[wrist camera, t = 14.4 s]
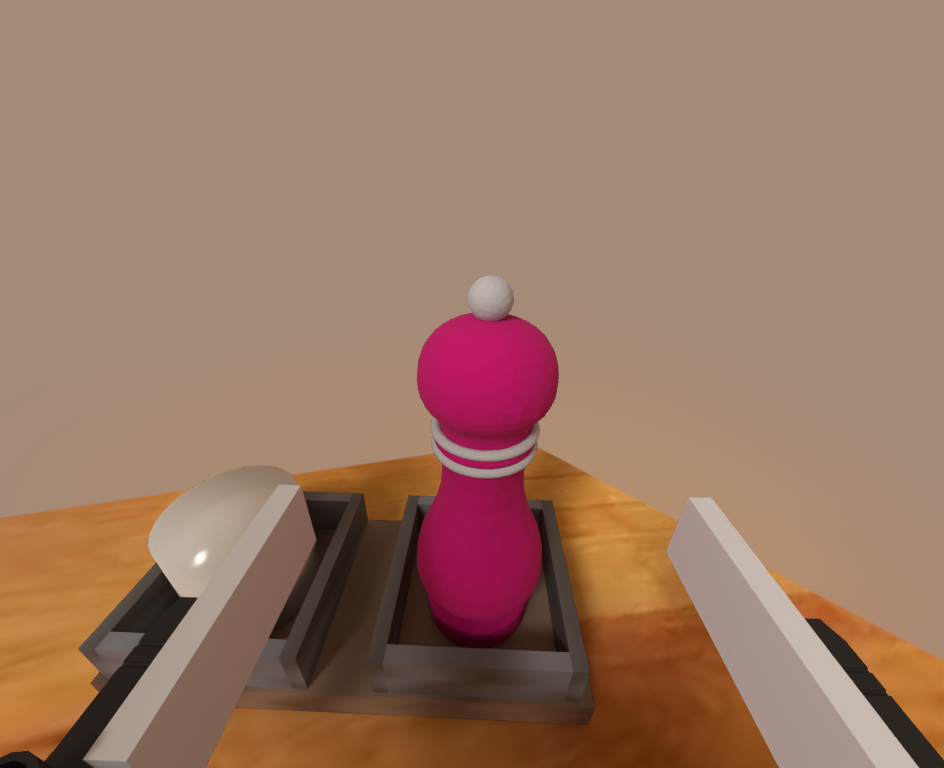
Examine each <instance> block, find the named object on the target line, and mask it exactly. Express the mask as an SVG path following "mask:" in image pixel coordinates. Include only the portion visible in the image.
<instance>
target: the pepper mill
mask: <svg viewBox="0 0 944 768" xmlns="http://www.w3.org/2000/svg"><path fill="white" fill-rule="evenodd" d="M513 302H514V297H513V291H512V288H511V287H510V285H509V284H508V282H506V281H505V280H504V279H502V278H500V277H498V276H493V275H491V276H485V277H482V278H480V279H478V280H477V281H476V282H475V283H474V284H473V285H472V287H471V289H470V291H469V295H468V304H469V308H470V310H471V311H472V313H469V314H464V315H460V316H458V317H455V318H453V319H450V320H449V321H447V322H446V323H444V324H442V325H441V326H440V327H438V328H437V329H436V330H435V331H434V332H433V333H432V334H431V335H430V336H429V338H428V339H427V341H426V342H425V344H424V346H423V348H422V351H421V354H420V357H419V361H418V372H417V383H418V391H419V394H420V397H421V399H422V401H423V403H424V405H425V407H426V409H427V410H428V411H429V412H430V414H431V415H432V416H433V418H432V421H431V431H432V442H431V443H432V448H433V451H434V454H435V456H436V457H437V458H438V460H439V461H440V462H441V463H442V477H441V484H440V487H439V491H438V493H437V495H436V497H435V499H434V501H433V503H432V505H431V506H430V508H429V510H428V512H427V513H426V515H425V518H424V520H423V523H422V527H421V530H420V534H419V537H418V548H417V566H418V572H419V575H420V579H421V581H422V583H423V585H424V587H425V589H426V591H427V593H428V603H429V609H430V613H431V616H432V618H433V620H434V622H435V624H436V625H437V627H438V628H439V629H440V631H441V632H442V633H443V634H444V635H445V636H446V637H448V638H449V639H450V640H451V641H453V642H455V643H457V644H459V645H461V646H464V647H468V648H488V647H492V646H495V645H498V644H500V643H501V642H503V641H505V640H506V639H508V638H509V637H510V636H511V635H512V634H513V633H514V632H515V631H516V630H517V628H518V627H519V625H520V623H521V621H522V619H523V616H524V613H525V609H526V602H527V599H528V598H529V597H530V595H531V594H532V593H533V591H534V589H535V587H536V585H537V582H538V580H539V577H540V572H541V561H542V544H541V539H540V534H539V529H538V526H537V523H536V521H535V518H534V516H533V514H532V512H531V510H530V508H529V505H528V502H527V500H526V496H525V491H524V469H525V467H526V466H528V465H529V464H530V463H531V461H532V460H533V459H534V457H535V455H536V452H537V439H538V437H539V432H540V429H539V424H538V421H539V420H540V419H542V418H543V417H544V416H545V414H546V413H547V412H548V410H549V409H550V407H551V406H552V404H553V402H554V400H555V397H556V392H557V387H558V379H559V377H558V376H559V375H558V374H559V373H558V362H557V358H556V354H555V351H554V349H553V347H552V346H551V344H550V342H549V341H548V339H547V338H546V336H545V335H544V334H543V333H542V332H541V331H540V330H539V329H538V328H537V327H535V326H534V325H532V324H531V323H529V322H528V321H525V320H523V319H521V318H518V317H516V316H512V315H509V312H510V311H511V309H512V306H513Z"/></svg>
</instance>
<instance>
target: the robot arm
mask: <svg viewBox="0 0 944 768" xmlns="http://www.w3.org/2000/svg"><path fill="white" fill-rule="evenodd" d="M315 542H316V537H315V533H314V530H313V526H312V523H311V519H310V516H309V512H308V508H307V505H306V501H305V498H304V494H303V491H302V487H301V485H278V486H277V488H276V489H275V491H274V492H273V493H272V495H271V496H270V498H269V499H268V500H267V502H266V503H265V505H264V506H263V507H262V509H261V510H260V512H259V513H258V514H257V516H256V517H255V519H254V520H253V521H252V523H251V524H250V526H249V527H248V528H247V530H246V531H245V533H244V534H243V535H242V537H241V538H240V540H239V541H238V542H237V544H236V545H235V547H234V548H233V549H232V551H231V552H230V554H229V555H228V556H227V558H226V559H225V561H224V562H223V563H222V565H221V566H220V568H219V569H218V570H217V572H216V573H215V575H214V576H213V577H212V579H211V580H210V582H209V583H208V585H207V586H206V587H205V589H204V590H203V592H202V593H201V594H200V596H199V597H181V598H179V599H178V600H177V601H176V602H175V603H174V604H172V605H171V606H170V607H169V608H168V609H167V610H165V611H164V612H163V613H162V614H161V615H160V616H158V617H157V619H156V620H155V621H154V623H153V624H152V625H151V626H150V628H149V629H148V630H147V632H146V633H145V634H144V635H143V637H142V638H141V639H140V641H139V644H138V645H137V646H135V647H134V648H133V650H132V651H131V652H130V653H129V655H128V656H127V657H126V659H125V660H124V661H123V665H122V666H121V667H119V668H118V669H117V670H116V671H115V673H114V674H113V675H112V677H111V678H110V679H109V680H108V682H107V683H106V684H105V686H104V687H103V688H102V689H101V691H100V692H99V693H98V695H97V696H96V697H95V698H94V700H93V701H92V702H91V704H90V705H89V706H88V708H87V709H86V710H85V711H84V713H83V714H82V715H81V717H80V718H79V719H78V720H77V722H76V723H75V724H74V726H73V727H72V728H71V729H70V731H69V732H68V733H67V735H66V736H65V737H64V738H63V740H62V741H61V742H60V744H59V745H58V746H57V747H56V749H55V750H54V751H53V752H52V753H51V754H50V756H49V757H48V758H47V759H46V760H45V761H42V760H41V759H39V758H38V757H37V756H35V755H34V754H32V753H31V752H29V751H22V752H12V753H10V754H8V755H5V756H3V757H1V758H0V768H206V766H207V764H208V762H209V759H210V757H211V755H212V753H213V751H214V749H215V747H216V745H217V743H218V741H219V739H220V737H221V735H222V733H223V731H224V729H225V727H226V725H227V723H228V720H229V718H230V716H231V714H232V712H233V710H234V708H235V706H236V704H237V702H238V700H239V698H240V696H241V694H242V692H243V690H244V688H245V686H246V683H247V681H248V679H249V677H250V675H251V673H252V671H253V669H254V667H255V665H256V663H257V661H258V659H259V657H260V655H261V653H262V651H263V649H264V647H265V644H266V642H267V640H268V638H269V636H270V634H271V632H272V630H273V628H274V626H275V624H276V622H277V620H278V618H279V616H280V614H281V612H282V610H283V607H284V605H285V603H286V601H287V599H288V597H289V595H290V593H291V591H292V589H293V587H294V585H295V583H296V581H297V579H298V577H299V575H300V573H301V571H302V568H303V566H304V564H305V562H306V560H307V558H308V556H309V554H310V552H311V550H312V548H313V546H314V544H315ZM666 553H667V554H668V556H669V558H670V560H671V562H672V564H673V566H674V568H675V570H676V572H677V574H678V576H679V577H680V579H681V581H682V583H683V585H684V587H685V589H686V591H687V593H688V595H689V597H690V598H691V600H692V602H693V604H694V606H695V608H696V610H697V612H698V614H699V616H700V618H701V620H702V621H703V623H704V625H705V627H706V629H707V631H708V633H709V635H710V637H711V639H712V641H713V642H714V644H715V646H716V648H717V650H718V652H719V654H720V656H721V658H722V660H723V662H724V664H725V665H726V667H727V669H728V671H729V673H730V675H731V677H732V679H733V681H734V683H735V685H736V686H737V688H738V690H739V692H740V694H741V696H742V698H743V700H744V702H745V704H746V706H747V708H748V709H749V711H750V713H751V715H752V717H753V719H754V721H755V723H756V725H757V727H758V729H759V730H760V732H761V734H762V736H763V738H764V740H765V742H766V744H767V746H768V748H769V750H770V752H771V753H772V755H773V757H774V759H775V761H776V763H777V765H778V767H779V768H944V760H943V759H942V758H941V756H940V755H939V754H938V753H937V751H936V750H935V749H934V748H933V747H932V745H931V744H930V743H929V742H928V741H927V739H926V738H925V737H924V736H923V734H922V733H921V732H920V731H919V730H918V728H917V727H916V726H915V725H914V724H913V722H912V721H911V720H910V719H909V717H908V716H907V715H906V714H905V713H904V711H903V710H902V709H901V708H900V707H899V705H898V704H897V703H896V702H895V700H894V699H893V698H892V697H891V696H888V695H887V693H886V690H885V688H884V687H883V686H882V685H881V683H880V682H879V681H878V680H877V679H876V677H875V676H874V675H873V674H872V673H870V672H869V671H868V668H867V666H866V665H865V664H864V663H863V662H862V660H861V659H860V658H859V657H858V656H857V654H856V653H855V652H854V651H853V649H852V648H851V647H850V646H849V645H848V643H847V642H846V641H845V640H844V639H842V638H841V637H840V636H839V635H838V634H837V633H835V632H834V631H833V630H832V629H831V628H830V627H828V626H827V625H826V624H825V623H824V622H823V621H821V620H820V619H806V618H803V616H802V615H801V614H800V612H799V611H798V610H797V608H796V607H795V606H794V605H793V603H792V602H791V601H790V599H789V598H788V597H787V595H786V594H785V593H784V592H783V590H782V589H781V588H780V586H779V585H778V584H777V582H776V581H775V580H774V579H773V577H772V576H771V575H770V573H769V572H768V571H767V569H766V568H765V567H764V566H763V564H762V563H761V562H760V560H759V559H758V558H757V557H756V555H755V554H754V553H753V551H752V550H751V549H750V547H749V546H748V545H747V543H746V542H745V541H744V540H743V538H742V537H741V536H740V534H739V533H738V532H737V530H736V529H735V528H734V527H733V525H732V524H731V523H730V521H729V520H728V519H727V517H726V516H725V515H724V514H723V512H722V511H721V510H720V508H719V507H718V506H717V504H716V503H715V502H714V501H713V500H712V498H691V497H689V498H688V500H687V503H686V505H685V507H684V510H683V512H682V515H681V517H680V519H679V522H678V524H677V527H676V529H675V531H674V534H673V536H672V539H671V541H670V543H669V546H668V548H667V550H666Z"/></svg>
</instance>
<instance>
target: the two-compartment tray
mask: <svg viewBox="0 0 944 768" xmlns="http://www.w3.org/2000/svg"><path fill="white" fill-rule="evenodd" d="M303 494H304V498H305V501H306V505H307V508H308V512H309V516H310V519H311V523H312V526H313V530H314V533H315V537H316V546H317V549H318V552H319V555H320V558H321V565H320V567H319V569H318V572H317V574H316V576H315V578H314V581H313V583H312V585H311V587H310V589H309V592H308V594H307V596H306V598H305V601H304V603H303V605H302V607H301V610H300V612H299V613H298V614H297V615H296V616H295V617H294V618H293V619H292V620H291V621H289V622H288V623H287V624H286V625H284V626H283V627H281V628H280V629H279V630H277V631H275V632H274V633H272V634H270V636H269V638H268V640H267V642H266V644H265V647H264V649H263V651H262V653H261V655H260V657H259V659H258V661H257V663H256V665H255V667H254V669H253V671H252V673H251V675H250V677H249V679H248V681H247V683H246V686H245V688H244V690H243V692H242V694H241V696H240V698H239V700H238V702H237V704H236V706H235V707H237V708H257V709H278V710H298V711H318V712H338V713H358V714H379V715H399V716H419V717H439V718H460V719H480V720H500V721H520V722H540V723H561V724H581V725H588V724H589V721H590V719H591V716H592V714H593V711H594V709H595V706H594V701H593V697H592V692H591V687H590V683H589V675H590V669H589V664H588V660H587V655H586V651H585V646H584V642H583V638H582V633H581V629H580V624H579V620H578V615H577V611H576V606H575V602H574V597H573V593H572V588H571V584H570V579H569V575H568V570H567V566H566V561H565V557H564V553H563V548H562V544H561V539H560V535H559V530H558V526H557V521H556V517H555V512H554V508H553V503H552V501H546V500H527V502H528V505H529V508H530V510H531V512H532V514H533V516H534V518H535V521H536V523H537V526H538V529H539V534H540V539H541V544H542V561H541V572H540V577H539V580H538V582H537V585H536V587H535V589H534V591H533V593H532V594H531V595H530V597H529V598H528V599H527V602H526V609H525V613H524V616H523V619H522V621H521V623H520V625H519V627H518V628H517V630H516V631H515V632H514V633H513V634H512V635H511V636H510V637H509V638H508V639H506V640H505V641H503V642H501V643H500V644H498V645H495V646H492V647H488V648H468V647H464V646H461V645H459V644H457V643H455V642H453V641H451V640H450V639H449V638H448V637H446V636H445V635H444V634H443V633H442V632H441V631H440V629H439V628H438V627H437V625H436V624H435V622H434V620H433V618H432V616H431V613H430V609H429V603H428V593H427V591H426V589H425V587H424V585H423V583H422V581H421V579H420V575H419V572H418V566H417V548H418V537H419V534H420V530H421V527H422V523H423V520H424V518H425V515H426V513H427V512H428V510H429V508H430V506H431V505H432V503H433V501H434V499H435V497H436V496H410V495H409V496H408V500H407V504H406V508H405V512H404V516H403V520H402V521H385V520H368V518H367V512H366V507H365V501H364V495H363V494H356V493H329V492H303ZM179 598H180V596H179V595H178V593H177V592H176V590H175V589H174V587H173V586H172V585H171V583H170V582H169V580H168V579H167V577H166V576H165V574H164V573H163V571H162V570H161V568H160V567H159V565H158V564H157V562H156V563H155V564H154V566H153V567H152V568H151V569H150V570H149V571H148V572H147V573H146V574H145V576H144V577H143V578H142V579H141V580H140V581H139V582H138V583H137V584H136V585H135V587H134V588H133V589H132V590H131V591H130V592H129V593H128V594H127V595H126V597H125V598H124V599H123V600H122V601H121V602H120V603H119V604H118V605H117V607H116V608H115V609H114V610H113V611H112V612H111V613H110V614H109V615H108V616H107V618H106V619H105V620H104V621H103V622H102V623H101V624H100V625H99V626H98V628H97V629H96V630H95V631H94V632H93V633H92V634H91V635H90V636H89V637H88V639H87V640H86V641H85V642H84V643H83V644H82V645H81V646H80V647H79V650H80V651H81V652H82V654H83V655H84V656H85V657H86V658H87V659H88V660H89V661H90V662H91V663H92V664H93V665H94V666H95V667H96V668H97V669H98V670H99V671H100V672H99V673H98V675H97V676H96V677H95V678H94V680H93V681H92V682H91V684H92V685H93V686H94V687H95V688H96V689H97V690H98V691H99V692H100V691H101V689H102V688H103V687H104V686H105V684H106V683H107V682H108V680H109V679H110V678H111V677H112V675H113V674H114V673H115V671H116V670H117V669H118V668H119V667H121V666H122V665H123V661H124V660H125V659H126V657H127V656H128V655H129V653H130V652H131V651H132V650H133V648H134V647H135V646H137V645H138V644H139V641H140V639H141V638H142V637H143V635H144V634H145V633H146V632H147V630H148V629H149V628H150V626H151V625H152V624H153V623H154V621H155V620H156V619H157V617H158V616H160V615H161V614H162V613H163V612H164V611H165V610H167V609H168V608H169V607H170V606H171V605H172V604H174V603H175V602H176V601H177V600H178V599H179Z"/></svg>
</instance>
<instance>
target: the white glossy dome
mask: <svg viewBox="0 0 944 768" xmlns="http://www.w3.org/2000/svg"><path fill="white" fill-rule="evenodd" d="M278 485H297V482H296V480H295V478H294V477H293V476H292V475H291V474H290V473H288V472H287V471H285V470H283V469H281V468H277V467H272V466H250V467H243V468H238V469H235V470H231V471H228V472H225V473H221V474H219V475H216V476H214V477H212V478H210V479H208V480H205V481H203V482H201V483H200V484H198V485H196V486H195V487H193V488H191V489H190V490H188V491H187V492H185V493H184V494H182V495H181V496H180V497H178V498H177V499H176V500H175V501H174V502H172V503H171V504H170V505H169V506H168V507H167V508H166V509H165V510H164V512H163V513H162V514H161V515H160V516H159V518H158V519H157V521H156V522H155V524H154V526H153V528H152V530H151V532H150V535H149V541H148V545H149V550H150V553H151V555H152V557H153V558H154V560H155V561H156V562H157V564H158V565H159V567H160V568H161V570H162V571H163V573H164V574H165V576H166V577H167V579H168V580H169V582H170V583H171V585H172V586H173V587H174V589H175V590H176V592H177V593H178V595H179V596H180V598H181V597H199V596H200V594H201V593H202V592H203V590H204V589H205V587H206V586H207V585H208V583H209V582H210V580H211V579H212V577H213V576H214V575H215V573H216V572H217V570H218V569H219V568H220V566H221V565H222V563H223V562H224V561H225V559H226V558H227V556H228V555H229V554H230V552H231V551H232V549H233V548H234V547H235V545H236V544H237V542H238V541H239V540H240V538H241V537H242V535H243V534H244V533H245V531H246V530H247V528H248V527H249V526H250V524H251V523H252V521H253V520H254V519H255V517H256V516H257V514H258V513H259V512H260V510H261V509H262V507H263V506H264V505H265V503H266V502H267V500H268V499H269V498H270V496H271V495H272V493H273V492H274V491H275V489H276V488H277V486H278ZM320 565H321V558H320V555H319V552H318V549H317V546H316V542H315V544H314V546H313V548H312V550H311V552H310V554H309V556H308V558H307V560H306V562H305V564H304V566H303V568H302V571H301V573H300V575H299V577H298V579H297V581H296V583H295V585H294V587H293V589H292V591H291V593H290V595H289V597H288V599H287V601H286V603H285V605H284V607H283V610H282V612H281V614H280V616H279V618H278V620H277V622H276V624H275V626H274V628H273V630H272V632H271V634H272V633H274V632H275V631H277V630H279V629H280V628H281V627H283V626H284V625H286V624H287V623H288V622H289V621H291V620H292V619H293V618H294V617H295V616H296V615H297V614H298V613H299V612H300V610H301V607H302V605H303V603H304V601H305V598H306V596H307V594H308V592H309V589H310V587H311V585H312V583H313V581H314V578H315V576H316V574H317V572H318V569H319V567H320Z"/></svg>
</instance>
